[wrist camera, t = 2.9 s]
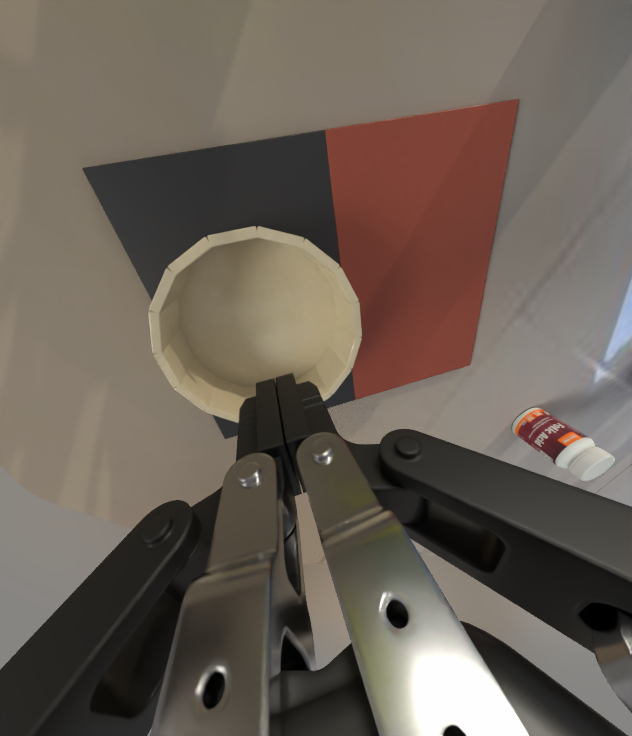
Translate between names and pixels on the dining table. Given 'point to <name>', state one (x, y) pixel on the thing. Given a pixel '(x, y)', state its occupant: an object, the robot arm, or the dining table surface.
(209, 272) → the bowl
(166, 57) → the dining table surface
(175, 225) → the placemat
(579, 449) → the pill bottle
